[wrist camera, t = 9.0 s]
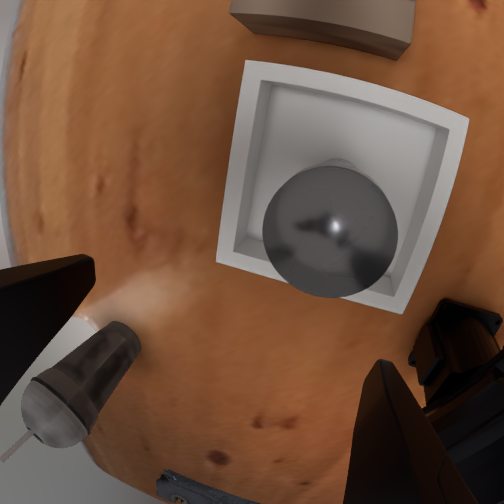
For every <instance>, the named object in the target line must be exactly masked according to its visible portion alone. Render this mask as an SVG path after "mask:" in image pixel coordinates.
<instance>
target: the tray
mask: <svg viewBox="0 0 504 504" xmlns="http://www.w3.org/2000/svg"><path fill="white" fill-rule="evenodd" d="M468 124H469V118H467V117H465V116H462V115H460V114H458V113H456V112H453V111H451V110H448V109H446V108H443V107H441V106H438V105H436V104H433V103H431V102H428V101H425V100H422V99H420V98H417V97H414V96H411V95H408V94H405V93H402V92H399V91H396V90H393V89H390V88H386V87H383V86H380V85H376V84H372V83H369V82H365V81H361V80H358V79H354V78H350V77H345V76H341V75H337V74H332V73H328V72H323V71H318V70H312V69H307V68H301V67H296V66H289V65H283V64H276V63H268V62H260V61H251V60H246V61H245V66H244V72H243V78H242V83H241V89H240V95H239V101H238V107H237V114H236V120H235V126H234V132H233V139H232V145H231V152H230V159H229V165H228V172H227V179H226V186H225V194H224V201H223V208H222V216H221V223H220V231H219V239H218V247H217V255H216V262H219V263H222V264H225V265H229V266H232V267H235V268H239V269H242V270H245V271H249V272H252V273H256V274H259V275H262V276H266V277H269V278H273V279H276V280H280V281H283V282H287V281H286V280H284V279H283V278H282V277H281V276H280V275H279V274H278V272H277V271H276V270H275V268H274V267H273V265H272V264H271V262H270V260H269V258H268V256H267V253H266V251H265V247H264V243H263V236H262V227H263V219H264V215H265V211H266V209H267V207H268V204H269V202H270V201H271V199H272V197H273V196H274V194H275V193H276V192H277V191H278V189H279V188H280V187H281V186H282V185H283V184H284V183H285V182H286V181H288V180H289V179H290V178H291V177H292V176H293V175H295V174H296V173H297V172H299V171H301V170H303V169H305V168H307V167H310V166H313V165H317V164H322V163H323V162H325V161H327V160H329V159H334V158H340V159H345V160H347V161H349V162H351V163H352V164H354V165H355V166H356V167H357V169H358V170H360V171H362V172H364V173H365V174H367V175H368V176H370V177H371V178H372V179H373V180H374V181H375V182H376V183H377V184H378V185H379V186H380V188H381V189H382V190H383V192H384V193H385V195H386V197H387V199H388V201H389V203H390V204H391V207H392V209H393V211H394V214H395V217H396V221H397V227H398V243H397V249H396V252H395V255H394V258H393V260H392V262H391V264H390V266H389V268H388V269H387V271H386V272H385V273H384V274H383V276H382V277H381V278H380V279H379V280H378V281H377V282H376V283H374V284H373V285H372V286H370V287H369V288H367V289H365V290H363V291H361V292H359V293H356V294H354V295H350V296H346V297H339V298H343V299H347V300H350V301H354V302H357V303H361V304H365V305H368V306H372V307H376V308H379V309H383V310H387V311H390V312H394V313H398V314H403V312H404V310H405V308H406V306H407V304H408V302H409V300H410V298H411V295H412V293H413V291H414V289H415V287H416V284H417V282H418V280H419V278H420V275H421V273H422V271H423V268H424V266H425V263H426V261H427V259H428V256H429V254H430V251H431V248H432V246H433V243H434V241H435V238H436V235H437V233H438V230H439V227H440V224H441V221H442V219H443V216H444V213H445V210H446V207H447V204H448V200H449V197H450V194H451V191H452V188H453V184H454V181H455V177H456V174H457V170H458V166H459V163H460V159H461V155H462V151H463V147H464V142H465V138H466V133H467V129H468ZM287 283H288V282H287Z"/></svg>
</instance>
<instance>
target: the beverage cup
mask: <svg viewBox="0 0 504 504" xmlns="http://www.w3.org/2000/svg"><path fill="white" fill-rule="evenodd" d="M140 347H141V346H140V342H139V340H138V338H137V336H136V335H135V334H134V332H133V331H132V330H131V329H130V328H128V327H127V326H126V325H124V324H123V323H120V322H111V323H110V324H109V325H108V326H106V327H104V328H103V329H101V330H99V331H98V332H97V333H95V334H94V335H93V336H91V337H90V338H89V339H88V340H86V341H85V342H84V343H82V344H81V345H80V346H78V347H77V348H76V349H75V350H73V351H72V352H71V353H70V354H68V355H67V356H66V357H64V358H63V359H62V360H61V361H59V362H58V363H57V364H56V365H54V366H53V367H52V368H49V369H47V370H45V371H44V372H42V373H40V374H39V375H38V376H37V377H33V378H32V379H31V382H30V383H29V384H28V386H27V387H26V389H25V391H24V393H23V396H22V401H21V410H22V417H23V421H24V423H25V425H26V427H27V429H28V430H29V431H28V432H27V433H25V434H24V436H22V437H21V438H20V439H19V440H18V441H17V442H16V443H15V444H14V445H13V446H12V447H11V448H9V449H8V450H7V451H6V452H5V453H4V454H3V455H2V456H1V457H0V460H1V461H2V462H4V461H6V460H7V459H8V458H9V457H10V456H11V455H12V454H13V453H14V452H15V451H16V450H17V449H18V448H19V447H20V446H21V445H22V444H23V443H25V442H26V441H27V440H28V439H29V438H30V437H31V436H32V435H34V436H35V437H36V438H37V439H38V440H39V441H40V442H42V443H43V444H45V445H48V446H50V447H55V448H67V447H71V446H73V445H75V444H77V443H79V442H80V441H81V440H83V439H84V437H86V436H88V435H89V434H90V433H91V432H90V430H91V428H92V427H93V426H94V424H95V422H96V420H97V417H98V413H99V412H100V410H101V409H102V407H103V406H104V404H105V403H106V401H107V400H108V398H109V397H110V395H111V394H112V392H113V391H114V389H115V388H116V386H117V385H118V383H119V382H120V380H121V379H122V377H123V376H124V374H125V373H126V371H127V370H128V369H129V367H130V366H131V364H132V363H133V361H134V359H135V357H136V356H137V354H138V352H139V351H140Z"/></svg>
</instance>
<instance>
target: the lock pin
mask: <svg viewBox="0 0 504 504" xmlns="http://www.w3.org/2000/svg"><path fill="white" fill-rule="evenodd" d="M262 236H263V243H264V247H265V251H266V253H267V256H268V258H269V260H270V262H271V264H272V265H273V267H274V268H275V270H276V271H277V272H278V274H279V275H280V276H281V277H282V278H283V279H284V280H286V281H287V282H288V283H289V284H291V285H292V286H294V287H295V288H297V289H299V290H301V291H303V292H305V293H308V294H311V295H314V296H319V297H326V298H339V297H346V296H350V295H354V294H356V293H359V292H361V291H363V290H365V289H367V288H369V287H370V286H372V285H373V284H374V283H376V282H377V281H378V280H379V279H380V278H381V277H382V276H383V274H384V273H385V272H386V271H387V269H388V268H389V266H390V264H391V262H392V260H393V258H394V255H395V252H396V249H397V243H398V227H397V221H396V217H395V214H394V211H393V209H392V207H391V204H390V203H389V201H388V199H387V197H386V195H385V193H384V192H383V190H382V189H381V188H380V186H379V185H378V184H377V183H376V182H375V181H374V180H373V179H372V178H371V177H370V176H368V175H367V174H365V173H364V172H362V171H360V170H358V169H357V167H356V166H355V165H354V164H352V163H351V162H349V161H347V160H345V159H340V158H334V159H329V160H327V161H325V162H323V163H322V164H317V165H313V166H310V167H307V168H305V169H303V170H301V171H299V172H297V173H296V174H295V175H293V176H292V177H291V178H290V179H289V180H288V181H286V182H285V183H284V184H283V185H282V186H281V187H280V188H279V189H278V191H277V192H276V193H275V194H274V196H273V197H272V199H271V201H270V202H269V204H268V207H267V209H266V211H265V215H264V219H263V227H262Z"/></svg>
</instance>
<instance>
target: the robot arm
mask: <svg viewBox="0 0 504 504" xmlns="http://www.w3.org/2000/svg"><path fill="white" fill-rule="evenodd" d="M95 281H96V276H95V263H94V260H93V258H92V257H90V256H87V255H85V254H79V255H74V256H68V257H63V258H58V259H52V260H47V261H42V262H37V263H31V264H26V265H21V266H16V267H11V268H6V269H1V270H0V405H1V403H2V402H3V401H4V400H5V398H6V397H7V396H8V394H9V393H10V392H11V390H12V389H13V388H14V386H15V385H16V383H17V382H18V381H19V379H20V378H21V377H22V376H23V374H24V373H25V372H26V371H27V369H28V368H29V367H30V366H31V364H32V363H33V362H34V361H35V359H36V358H37V357H38V355H39V354H40V353H41V352H42V351H43V349H44V348H45V347H46V346H47V345H48V343H49V342H50V341H51V340H52V339H53V337H54V336H55V335H56V334H57V333H58V332H59V331H60V329H61V328H62V327H63V326H64V325H65V324H66V322H67V321H68V320H69V319H70V318H71V316H72V315H73V314H74V312H75V311H76V309H77V308H78V307H79V305H80V304H81V303H82V301H83V300H84V298H85V297H86V296H87V294H88V293H89V292H90V290H91V289H92V288H93V286H94V284H95ZM444 305H447V306H446V307H445V308H443V306H444ZM497 320H498V321H497ZM496 321H497V322H496ZM502 322H503V319H502V317H501V315H499V314H496V313H493V312H489V311H486V310H482V309H479V308H476V307H472V306H469V305H465V304H462V303H459V302H455V301H452V300H448V299H444V300H442V301H440V303H439V304H438V306H437V308H436V310H435V312H434V314H433V316H432V318H431V320H430V322H428V323H427V324H426V325H425V327H424V329H423V331H422V333H421V334H420V336H419V338H418V340H417V341H416V343H415V345H414V346H413V351H412V353H411V355H410V356H409V358H408V363H409V365H410V366H412V367H416V369H417V375H418V382H419V384H420V385H421V386H424V393H425V400H426V406H425V407H424V408H422V409H421V407H420V405H419V404H418V402H417V401H416V399H415V397H414V396H413V394H412V392H411V391H410V389H409V388H408V386H407V384H406V383H405V381H404V380H403V378H402V376H401V375H400V373H399V372H398V370H397V369H396V367H395V365H394V364H393V363H392V362H391V361H387V360H383V359H379V360H377V361H376V363H375V364H374V366H373V367H372V369H371V370H370V372H369V374H368V375H367V377H366V378H365V380H364V383H363V388H362V393H361V398H360V403H359V408H358V413H357V417H356V422H355V426H354V432H353V439H352V447H351V455H350V463H349V470H348V476H347V483H346V489H345V495H344V500H343V504H504V346H503V349H502V350H500V347H499V345H498V343H497V341H496V339H495V337H494V335H495V334H496V332H497V331H498V329H499V327H500V326H501V324H502ZM413 360H415V361H413Z"/></svg>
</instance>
